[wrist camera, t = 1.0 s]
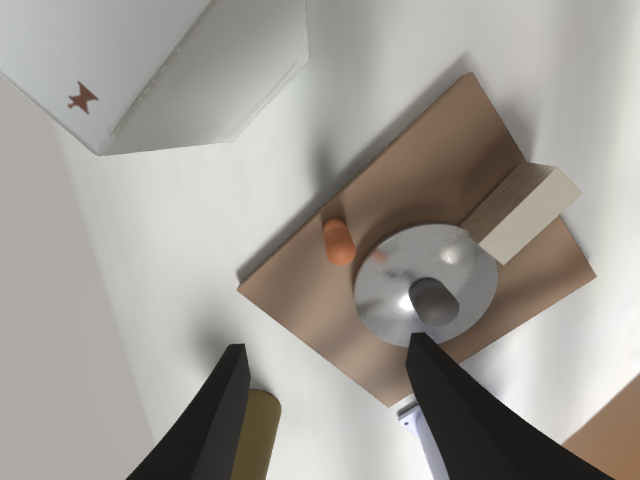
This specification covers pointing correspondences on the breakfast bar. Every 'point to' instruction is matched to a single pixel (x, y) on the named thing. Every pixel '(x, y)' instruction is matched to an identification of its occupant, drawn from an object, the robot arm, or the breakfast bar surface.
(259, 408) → the cork
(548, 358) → the breakfast bar surface
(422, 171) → the board
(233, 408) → the robot arm
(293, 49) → the supplement box
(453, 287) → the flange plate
